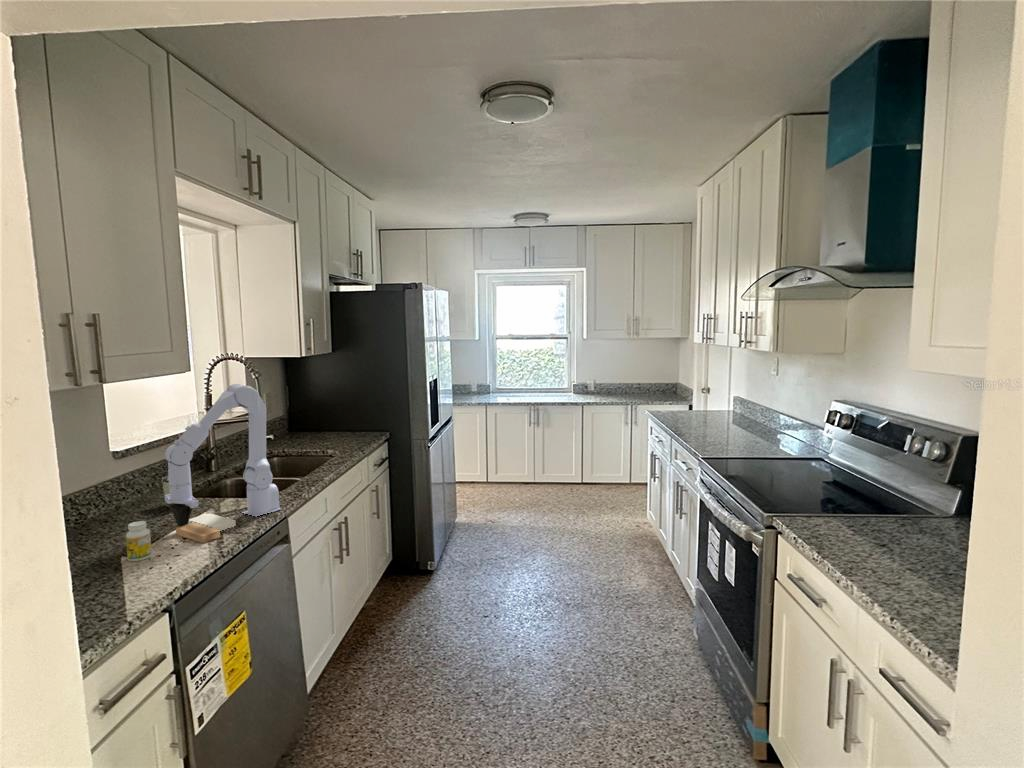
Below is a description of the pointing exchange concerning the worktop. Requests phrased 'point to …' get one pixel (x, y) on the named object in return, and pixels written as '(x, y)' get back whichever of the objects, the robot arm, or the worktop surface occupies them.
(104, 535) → the worktop surface
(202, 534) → the tan flat block
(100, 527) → the worktop surface
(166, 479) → the food container
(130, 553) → the supplement bottle
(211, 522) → the board
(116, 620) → the worktop surface
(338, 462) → the worktop surface
